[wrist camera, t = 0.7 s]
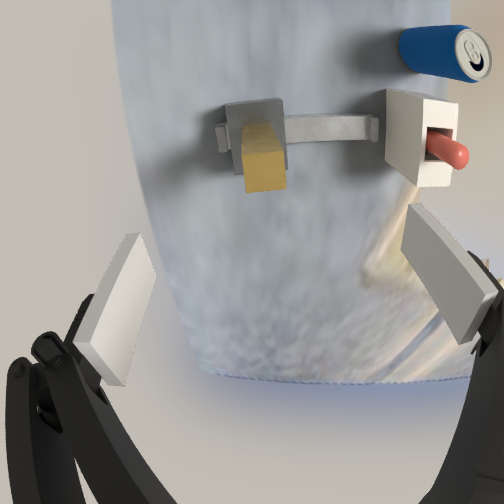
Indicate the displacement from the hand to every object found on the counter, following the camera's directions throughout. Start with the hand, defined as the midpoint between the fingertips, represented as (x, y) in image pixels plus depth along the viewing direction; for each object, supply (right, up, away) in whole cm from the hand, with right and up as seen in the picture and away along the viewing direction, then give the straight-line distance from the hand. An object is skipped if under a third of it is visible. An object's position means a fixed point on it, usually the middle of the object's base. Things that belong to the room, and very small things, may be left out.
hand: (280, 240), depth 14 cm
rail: (+4, +15, +20) cm, 25 cm away
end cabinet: (+19, +16, +19) cm, 31 cm away
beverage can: (+20, +25, +13) cm, 35 cm away
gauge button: (+19, +13, +15) cm, 27 cm away
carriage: (-1, +14, +20) cm, 24 cm away
